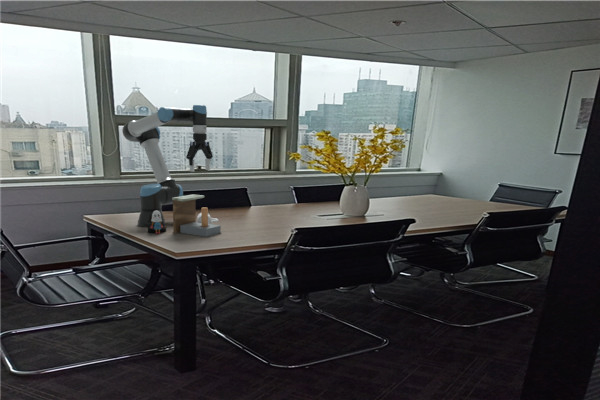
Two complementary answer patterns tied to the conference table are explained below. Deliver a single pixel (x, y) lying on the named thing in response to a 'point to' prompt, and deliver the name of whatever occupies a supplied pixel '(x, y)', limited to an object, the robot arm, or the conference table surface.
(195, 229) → the socket board
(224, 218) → the conference table surface
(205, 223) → the peg
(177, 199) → the panel
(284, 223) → the conference table surface
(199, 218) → the mug
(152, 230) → the figurine
